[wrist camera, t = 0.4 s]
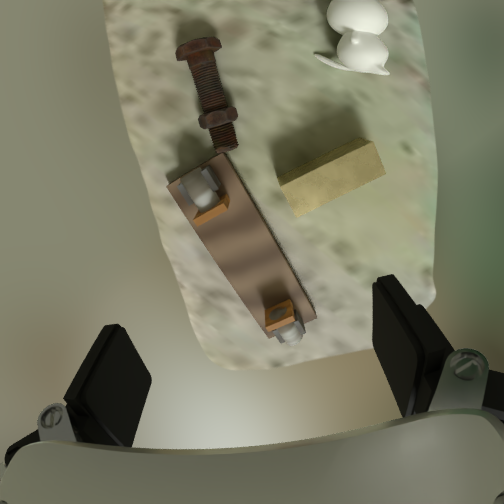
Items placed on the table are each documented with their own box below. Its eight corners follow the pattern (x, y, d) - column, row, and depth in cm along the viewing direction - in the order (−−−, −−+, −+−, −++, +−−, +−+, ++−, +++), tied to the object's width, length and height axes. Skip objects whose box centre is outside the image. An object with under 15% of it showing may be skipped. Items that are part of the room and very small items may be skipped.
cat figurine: (391, 71, 27) (375, -22, 21) (304, 74, 32) (290, -11, 27) (399, 77, 33) (387, -1, 27) (327, 77, 39) (317, 5, 33)
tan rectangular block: (276, 177, 42) (280, 186, 37) (359, 137, 39) (373, 141, 34) (291, 204, 44) (296, 217, 39) (371, 165, 41) (386, 173, 36)
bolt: (224, 147, 42) (195, 49, 35) (254, 141, 39) (225, 37, 32) (198, 159, 38) (166, 51, 31) (231, 153, 35) (197, 36, 28)
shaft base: (169, 184, 42) (156, 195, 36) (223, 151, 40) (218, 157, 34) (268, 333, 53) (269, 357, 48) (315, 312, 51) (321, 336, 46)
